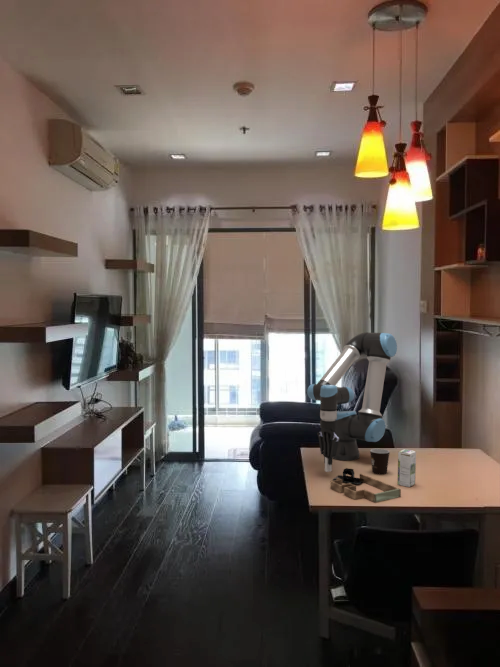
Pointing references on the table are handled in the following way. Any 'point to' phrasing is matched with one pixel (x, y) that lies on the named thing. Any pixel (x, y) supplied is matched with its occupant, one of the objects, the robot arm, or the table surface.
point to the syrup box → (406, 468)
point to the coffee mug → (379, 460)
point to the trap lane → (352, 493)
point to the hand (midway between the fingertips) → (328, 471)
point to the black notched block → (349, 477)
